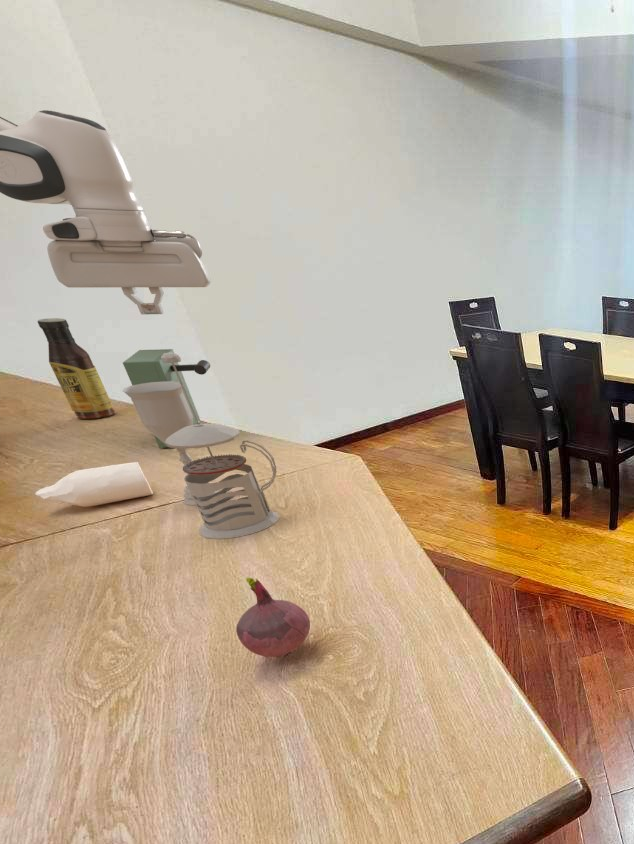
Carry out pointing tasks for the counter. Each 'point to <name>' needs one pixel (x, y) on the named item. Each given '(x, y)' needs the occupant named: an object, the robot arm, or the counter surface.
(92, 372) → the sauce bottle
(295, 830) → the counter surface
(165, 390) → the chalice
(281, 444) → the counter surface
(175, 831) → the counter surface
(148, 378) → the green wedge with knob
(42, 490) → the white bottle
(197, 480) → the french press
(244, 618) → the vegetable
